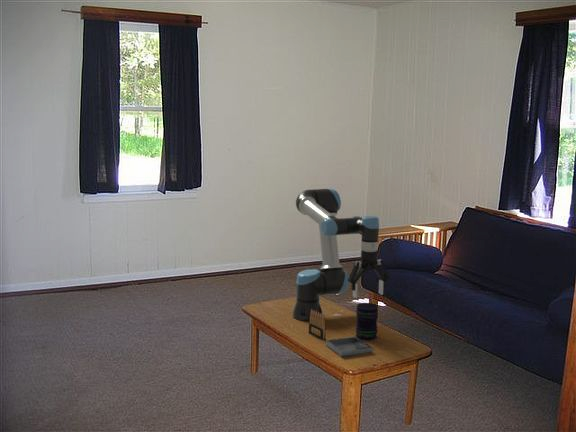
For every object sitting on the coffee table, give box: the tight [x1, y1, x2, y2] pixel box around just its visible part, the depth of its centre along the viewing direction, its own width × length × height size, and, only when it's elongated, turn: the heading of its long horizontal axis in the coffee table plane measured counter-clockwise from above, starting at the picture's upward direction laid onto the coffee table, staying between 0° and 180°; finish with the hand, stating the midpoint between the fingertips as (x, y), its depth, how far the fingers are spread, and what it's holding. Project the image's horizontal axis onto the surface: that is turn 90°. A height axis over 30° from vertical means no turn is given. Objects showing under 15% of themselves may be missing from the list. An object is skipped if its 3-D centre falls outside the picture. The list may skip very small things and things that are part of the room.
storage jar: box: [355, 302, 379, 342], centre depth 304 cm, size 10×10×15 cm
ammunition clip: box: [308, 309, 326, 341], centre depth 305 cm, size 11×2×12 cm, turn 35°
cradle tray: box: [325, 335, 373, 358], centre depth 290 cm, size 15×15×2 cm
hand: (367, 295), depth 302 cm, fingers open, 13 cm apart
